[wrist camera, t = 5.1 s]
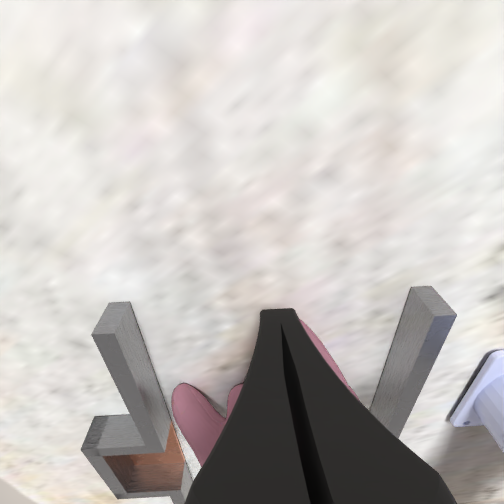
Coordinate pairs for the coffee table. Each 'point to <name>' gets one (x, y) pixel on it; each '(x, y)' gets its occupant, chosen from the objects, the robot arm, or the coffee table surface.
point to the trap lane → (159, 422)
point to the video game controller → (208, 419)
